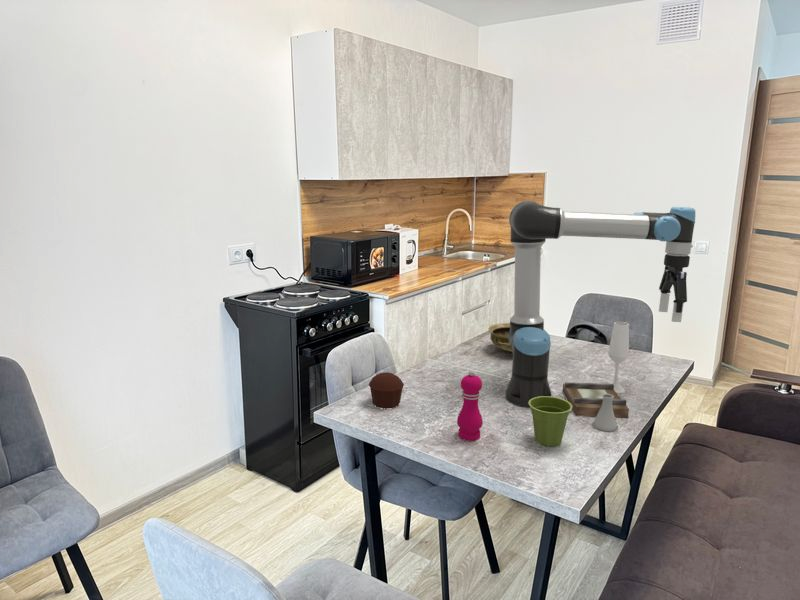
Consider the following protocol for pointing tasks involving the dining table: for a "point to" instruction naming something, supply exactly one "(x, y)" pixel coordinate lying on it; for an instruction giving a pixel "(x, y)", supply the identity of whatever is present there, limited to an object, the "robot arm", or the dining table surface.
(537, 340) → the robot arm
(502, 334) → the ceramic bowl
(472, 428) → the pepper mill
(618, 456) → the dining table surface
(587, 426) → the dining table surface
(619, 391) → the champagne flute
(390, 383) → the muffin
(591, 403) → the dock
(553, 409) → the plant pot
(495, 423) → the dining table surface
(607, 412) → the flask
